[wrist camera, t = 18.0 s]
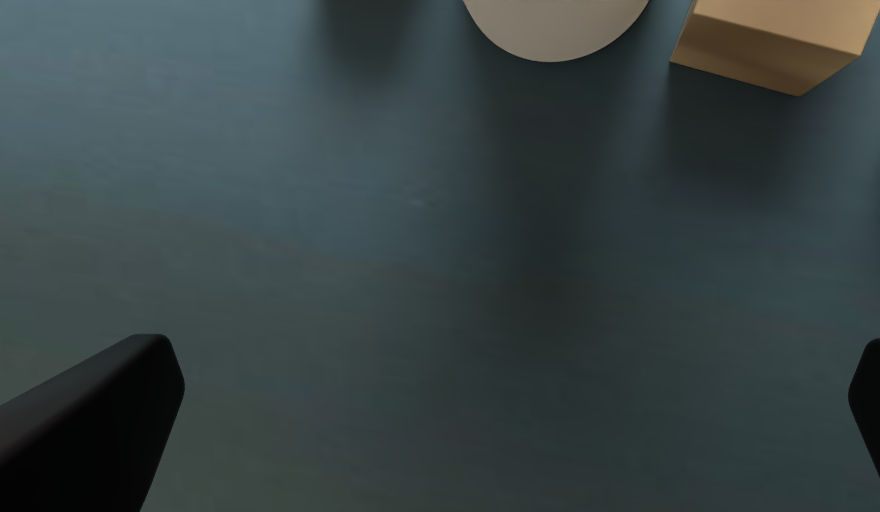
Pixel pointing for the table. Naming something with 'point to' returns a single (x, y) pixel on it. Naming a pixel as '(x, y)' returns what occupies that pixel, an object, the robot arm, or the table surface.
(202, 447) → the table surface
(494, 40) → the can
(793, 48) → the block
